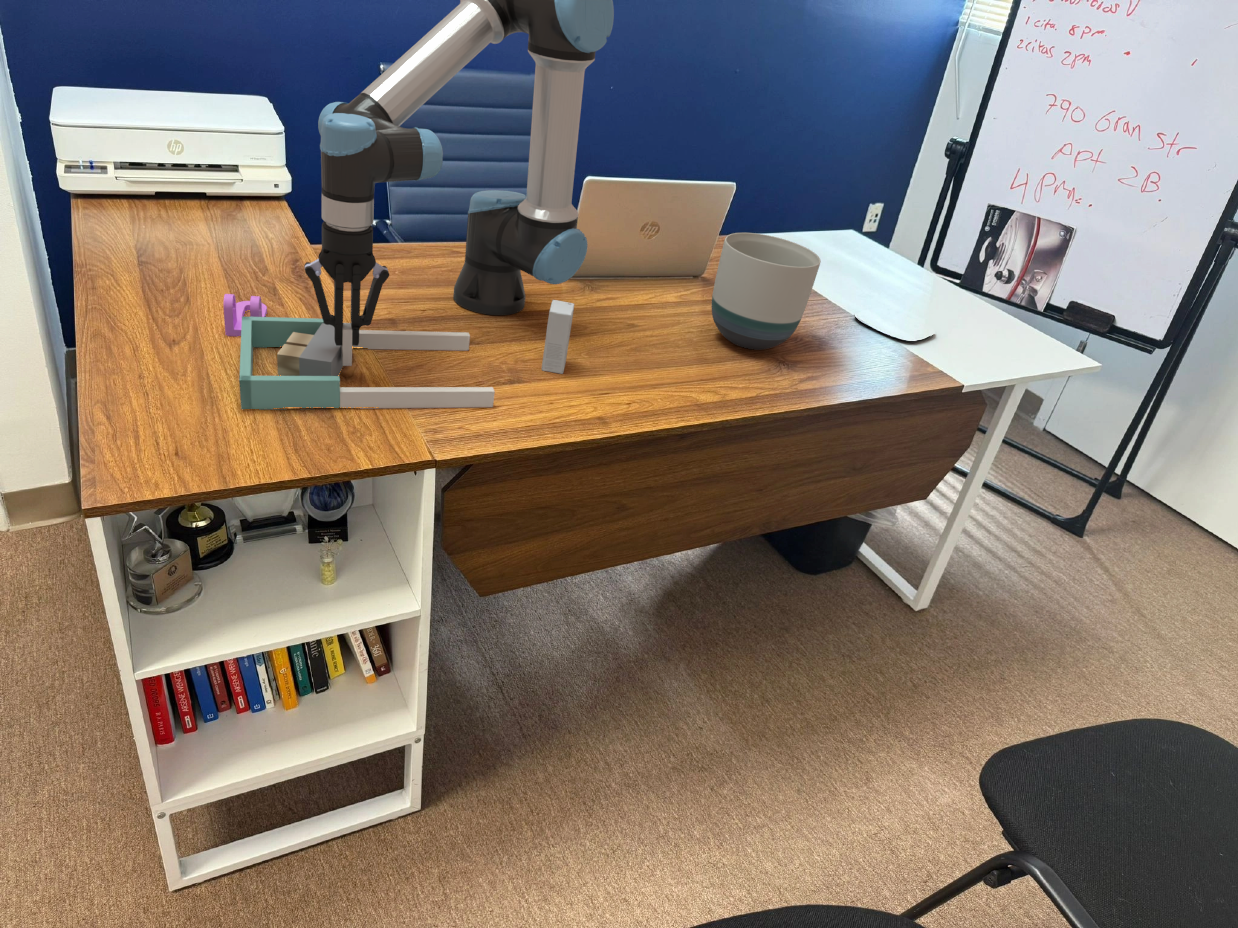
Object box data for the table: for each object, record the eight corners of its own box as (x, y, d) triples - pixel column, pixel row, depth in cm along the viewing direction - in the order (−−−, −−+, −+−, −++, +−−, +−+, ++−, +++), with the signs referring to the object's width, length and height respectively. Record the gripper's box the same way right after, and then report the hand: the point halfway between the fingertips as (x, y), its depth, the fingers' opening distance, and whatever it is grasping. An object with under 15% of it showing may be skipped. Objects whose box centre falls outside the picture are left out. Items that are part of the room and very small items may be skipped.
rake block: (351, 353, 150) (351, 327, 147) (331, 389, 138) (331, 362, 135) (322, 349, 149) (322, 323, 146) (299, 385, 137) (299, 357, 134)
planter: (739, 318, 199) (763, 229, 188) (809, 353, 188) (839, 261, 177) (682, 331, 185) (705, 236, 174) (754, 371, 174) (783, 272, 163)
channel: (467, 347, 160) (468, 332, 158) (492, 407, 142) (494, 391, 140) (330, 344, 151) (330, 329, 149) (340, 408, 133) (340, 391, 131)
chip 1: (317, 356, 146) (317, 335, 144) (311, 366, 143) (310, 345, 141) (293, 353, 146) (293, 332, 144) (286, 363, 142) (286, 341, 140)
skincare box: (544, 357, 162) (552, 298, 156) (566, 361, 162) (575, 303, 156) (540, 370, 157) (548, 310, 151) (563, 374, 157) (572, 315, 151)
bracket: (260, 338, 148) (258, 301, 145) (225, 336, 147) (222, 298, 143) (268, 309, 159) (267, 274, 155) (236, 306, 157) (234, 271, 154)
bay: (330, 344, 151) (330, 318, 148) (339, 408, 133) (339, 380, 130) (243, 343, 145) (241, 316, 143) (241, 409, 128) (239, 380, 125)
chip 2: (309, 369, 142) (309, 347, 140) (303, 379, 139) (302, 357, 137) (285, 365, 142) (284, 343, 139) (277, 376, 138) (277, 354, 136)
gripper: (388, 218, 134) (384, 352, 147) (301, 212, 129) (304, 351, 142) (394, 234, 128) (389, 372, 141) (303, 228, 124) (306, 372, 136)
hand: (346, 362), depth 141 cm, fingers closed
